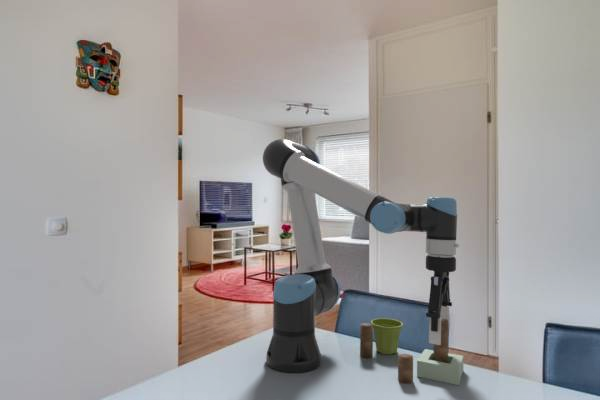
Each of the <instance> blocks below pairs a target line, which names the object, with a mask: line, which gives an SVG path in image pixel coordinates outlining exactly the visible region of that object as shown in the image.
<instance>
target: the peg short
mask: <svg viewBox="0 0 600 400" xmlns="http://www.w3.org/2000/svg"><path fill="white" fill-rule="evenodd" d="M397 356H398V358H397V360H398V361H397V365H398V366H397V381H398V382H400V383H402V384H406V385H407V384H408V385H410V384H413V382H414V356H413V355H411V354H410V353H399V354H398V355H397Z"/></svg>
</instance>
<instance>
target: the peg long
mask: <svg viewBox="0 0 600 400" xmlns="http://www.w3.org/2000/svg"><path fill="white" fill-rule="evenodd" d="M433 351H434V361H439V362H444V363H448V353H449V330H448V320H447V319H444V318H441V345H436V344H433Z"/></svg>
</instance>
